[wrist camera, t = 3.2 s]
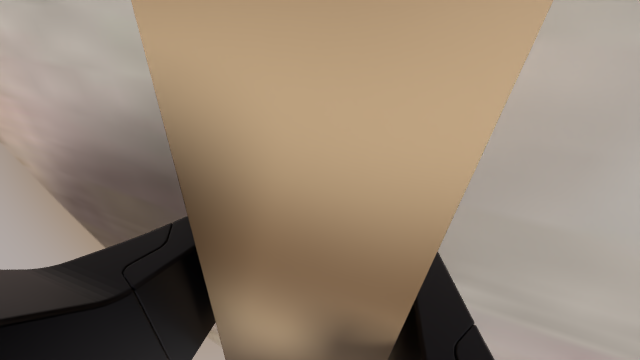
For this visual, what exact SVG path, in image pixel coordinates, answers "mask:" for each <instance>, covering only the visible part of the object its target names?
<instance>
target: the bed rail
mask: <svg viewBox="0 0 640 360" xmlns="http://www.w3.org/2000/svg"><path fill="white" fill-rule="evenodd" d="M131 1H132V5H133V9H134V13H135V17H136V20H137V24H138V28H139V32H140V36H141V40H142V43H143V47H144V51H145V55H146V59H147V62H148V66H149V70H150V74H151V78H152V81H153V85H154V89H155V93H156V97H157V100H158V104H159V108H160V112H161V116H162V119H163V123H164V127H165V131H166V135H167V138H168V142H169V146H170V150H171V154H172V158H173V161H174V165H175V169H176V173H177V177H178V180H179V184H180V188H181V192H182V196H183V199H184V203H185V207H186V211H187V215H188V218H189V222H190V226H191V230H192V234H193V237H194V241H195V245H196V249H197V253H198V256H199V260H200V264H201V268H202V272H203V276H204V279H205V283H206V287H207V291H208V295H209V298H210V302H211V306H212V310H213V314H214V317H215V321H216V325H217V329H218V333H219V336H220V340H221V344H222V348H223V352H224V355H225V359H226V360H387V359H388V357H389V355H390V353H391V351H392V349H393V346H394V344H395V342H396V340H397V338H398V336H399V333H400V331H401V329H402V327H403V325H404V323H405V320H406V318H407V316H408V314H409V312H410V310H411V307H412V305H413V303H414V301H415V299H416V297H417V294H418V292H419V290H420V288H421V286H422V284H423V281H424V279H425V277H426V275H427V273H428V271H429V268H430V266H431V264H432V262H433V260H434V258H435V255H436V253H437V251H438V249H439V247H440V245H441V242H442V240H443V238H444V236H445V234H446V232H447V229H448V227H449V225H450V223H451V221H452V219H453V216H454V214H455V212H456V210H457V208H458V206H459V203H460V201H461V199H462V197H463V195H464V193H465V190H466V188H467V186H468V184H469V182H470V180H471V177H472V175H473V173H474V171H475V169H476V167H477V164H478V162H479V160H480V158H481V156H482V154H483V151H484V149H485V147H486V145H487V143H488V141H489V138H490V136H491V134H492V132H493V130H494V128H495V125H496V123H497V121H498V119H499V117H500V115H501V112H502V110H503V108H504V106H505V104H506V102H507V99H508V97H509V95H510V93H511V91H512V89H513V86H514V84H515V82H516V80H517V78H518V76H519V73H520V71H521V69H522V67H523V65H524V63H525V60H526V58H527V56H528V54H529V52H530V50H531V47H532V45H533V43H534V41H535V39H536V37H537V34H538V32H539V30H540V28H541V26H542V24H543V21H544V19H545V17H546V15H547V13H548V11H549V8H550V6H551V4H552V2H553V0H131Z"/></svg>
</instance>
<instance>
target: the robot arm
mask: <svg viewBox="0 0 640 360" xmlns="http://www.w3.org/2000/svg"><path fill="white" fill-rule="evenodd" d="M215 322H216V321H215V317H214V314H213V310H212V306H211V302H210V298H209V295H208V291H207V287H206V283H205V279H204V276H203V272H202V268H201V264H200V260H199V256H198V253H197V249H196V245H195V241H194V237H193V234H192V230H191V226H190V222H189V218H188V216H187V217H184V218H182V219H180V220H177V221H175V222H173V224H172V223H170V224H168V225H165V226H163V227H161V228H158V229H156V230H153V231H151V232H149V233H146V234H144V235H141V236H139V237H136V238H133V239H130V240H128V241H125V242H122V243H120V244H117V245H114V246H111V247H108V248H105V249H102V250H100V251H97V252H94V253H91V254H88V255H85V256H82V257H80V258H77V259H74V260H71V261H68V262H65V263H62V264H59V265H55V266H50V267H46V268H39V269H28V270H0V360H192V358H193V357H194V355H195V354H196V352H197V351H198V349H199V347H200V346H201V344H202V343H203V341H204V339H205V338H206V336H207V335H208V333H209V332H210V330H211V329H212V327H213V325H214V324H215ZM387 360H494V358H493V356H492V354H491V352H490V351H489V349H488V347H487V345H486V343H485V342H484V340H483V338H482V336H481V334H480V332H479V330H478V328H477V326H476V325H474V321H473V319H472V317H471V315H470V313H469V311H468V309H467V307H466V305H465V303H464V301H463V299H462V297H461V295H460V294H459V292H458V290H457V288H456V286H455V284H454V282H453V280H452V278H451V276H450V274H449V272H448V270H447V268H446V267H445V265H444V263H443V261H442V259H441V257H440V255H439V253H438V251H437V253H436V255H435V258H434V260H433V262H432V264H431V266H430V268H429V271H428V273H427V275H426V277H425V279H424V281H423V284H422V286H421V288H420V290H419V292H418V294H417V297H416V299H415V301H414V303H413V305H412V307H411V310H410V312H409V314H408V316H407V318H406V320H405V323H404V325H403V327H402V329H401V331H400V333H399V336H398V338H397V340H396V342H395V344H394V346H393V349H392V351H391V353H390V355H389V357H388V359H387Z"/></svg>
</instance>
